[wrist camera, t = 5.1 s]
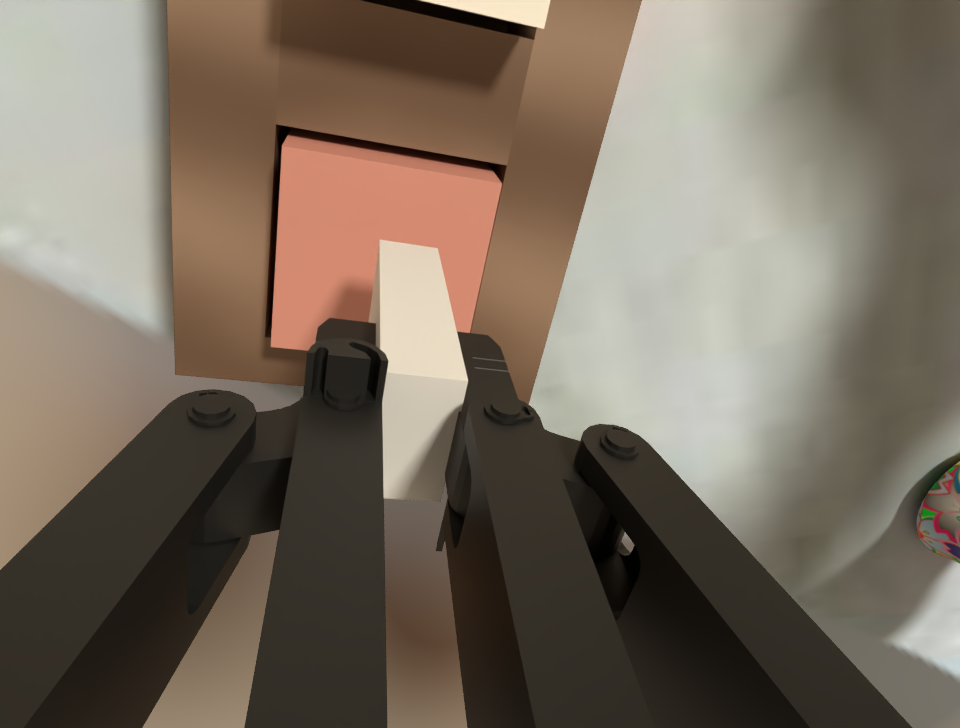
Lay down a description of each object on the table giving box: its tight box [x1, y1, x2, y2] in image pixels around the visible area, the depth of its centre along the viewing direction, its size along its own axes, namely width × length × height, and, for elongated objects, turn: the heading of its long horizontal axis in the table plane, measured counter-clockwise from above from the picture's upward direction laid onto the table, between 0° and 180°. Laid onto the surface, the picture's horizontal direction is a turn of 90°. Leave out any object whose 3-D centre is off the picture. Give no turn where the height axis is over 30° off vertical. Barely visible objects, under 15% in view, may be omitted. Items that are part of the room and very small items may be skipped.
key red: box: [271, 127, 502, 351], centre depth 21 cm, size 6×6×4 cm
